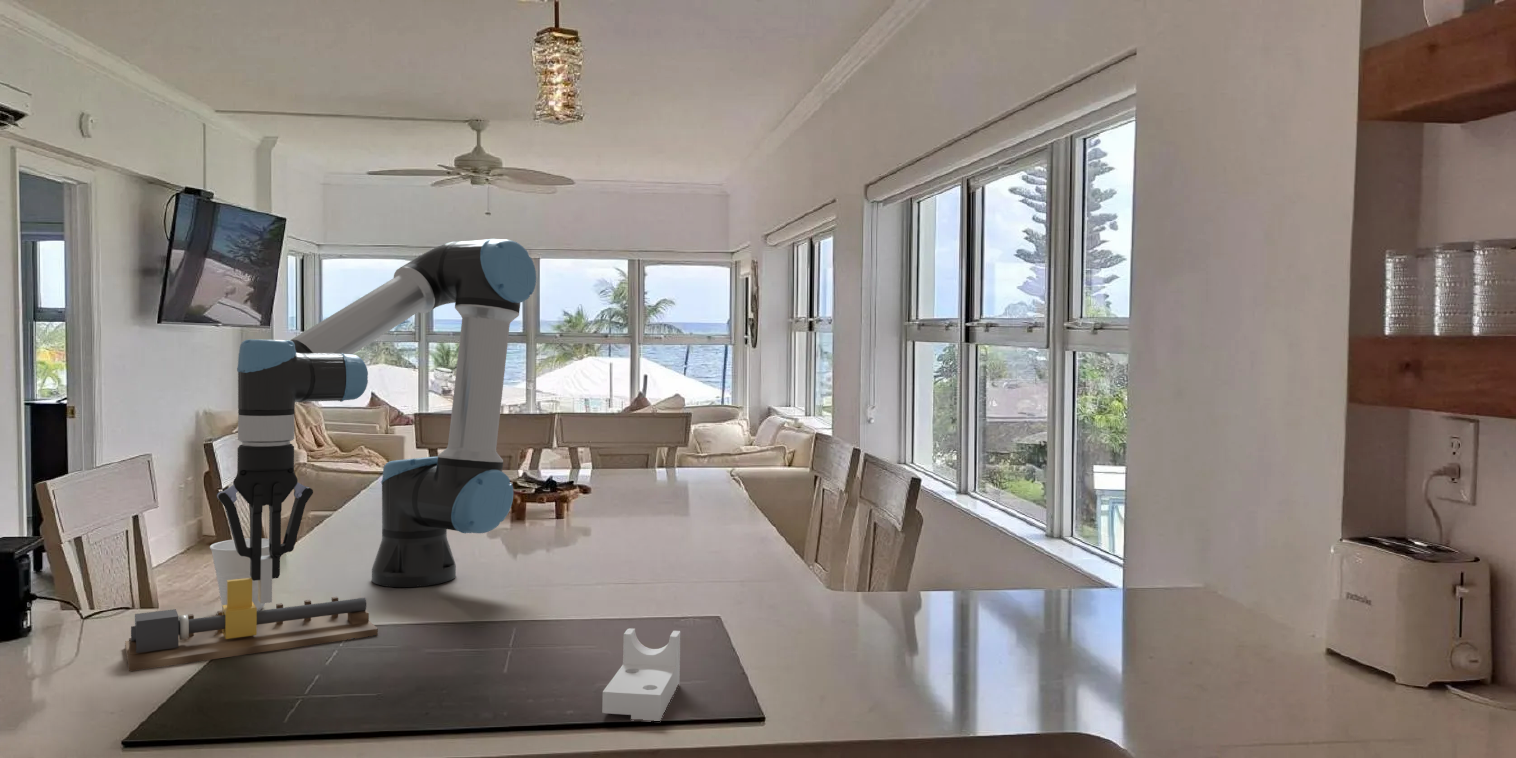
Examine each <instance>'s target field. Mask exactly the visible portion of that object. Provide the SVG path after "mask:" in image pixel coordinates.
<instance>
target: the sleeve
mask: <svg viewBox="0 0 1516 758" xmlns="http://www.w3.org/2000/svg"><path fill="white" fill-rule="evenodd" d="M221 609H222V610H221V611H222V615H225V629H222V633H223V635H224V637H225V639H230V638H237V637H245V636H252V635H257V608H256V606H255V605H254V603H253V602H252V578H243V579H234V580H227V605H222V604H221Z"/></svg>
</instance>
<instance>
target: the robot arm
mask: <svg viewBox="0 0 1516 758" xmlns="http://www.w3.org/2000/svg"><path fill="white" fill-rule="evenodd" d="M536 284H537V271H536V267H535V262H534V261H533V258H532V257H531V256H530V255H529V252H528V251H527V250H526V248H525V247H524V246H522V245H521V244H520V243H518V242H517V241H516V240H515V241H514V240H511V239H502V238H501V239H500V238H493V237H492V238H489V239H478V240H476V239H475V240H455V241H449V242H447V243H443V244H441V245H438V246H436V247H434V248H432V249H430V250H428V251H426V252H424V253H423V254H421V255H419V256H418V257H416V258H414V259H412V260H411V261H409V262H407V263H405V264H403V265H401V266H400V267H399V268H397V269H396V270H395V272H394V274H393V277H392V279H390V280H388V281H386V282H384V283H383V284H381V285H379V286H378V287H377V288H375V289H373V290H372V291H370V292H368V293H367V294H364V295H363V296H362V297H360V298H358V299H356V300H355V301H353V302H352V303H350V304H348V305H346V306H345V307H343V308H341V309H340V310H338V311H337V312H335V313H333V314H331V315H330V316H328V317H326V318H325V319H323V320H321V321H320V322H318V323H316V324H315V325H313V326H312V327H310V328H308V329H306V330H305V331H303V332H302V333H299V334H297V336H295V337H293V338H292V339H288V340H287V339H261V338H259V339H255V338H254V339H253V338H251V339H245V340H243V341H242V342H241V343H240V344H239V352H238V357H237V359H238V360H237V361H238V362H237V368H236V371H237V395H238V396H237V408H238V409H237V410H238V412H237V414H238V417H237V419H238V420H237V440H238V441H239V442H240V443H242V444H240V445H239V446H238V447H237V468H236V469H237V473H236V476H235V478H233V485H231V486H229V487H228V488H226V489H224V490H220V491H218V492H217V493H216V498H217V499H218V500H219V501H220V503H221V504H222V506H223V507H224V509H225V514H226V517H227V521H228V524H229V527H230V532H231V535H232V540H234V543H235V547H236V551H237V552H238V554H239V555H240V556H245V557H249V558H250V576H251V578H252V580H253V581H255V580H258V600H259V602H260V603H265V604H269V603H273V580H274V579H279V577H280V575H281V557H282V556H283V555H284V554H286V553H291V552H292V551H294V548H295V544H296V540H297V538H298V534H299V531H300V530H299V529H300V526H301V522H302V518H303V515H304V512H305V508H306V504H307V503H308V501H309V500H310V499H311V497H312V496H313V494H314V489H312V488H311V487H309V486H306V485H303V484H302V483H300V482H298V477H297V475H296V473H295V446H294V444H293V443H291V441H294V440H295V408H296V403H302V402H339V403H342V402H344V401H351V400H352V401H353V400H357V399H358V398H360V397H362V396H363V394H364V393H365V391H366V390H367V387H368V383H369V380H368V378H369V376H368V375H369V371H368V367H367V365H366V363H365V361H364V360H363V359H362V357H360V356H359V355H357V354H355V353H357V352H359V351H360V350H362V349H363V348H365V347H366V346H368V345H370V344H371V343H372V342H374V341H376V340H378V338H380V337H382V336H383V335H385V334H386V333H387V332H389V331H391V330H393V329H394V328H395V327H397V326H399V325H401V324H402V323H404V322H405V321H407V320H408V319H410V318H412V317H413V316H415V315H417V314H418V313H419V314H427V313H429V312H431V311H433V310H434V309H436V308H437V307H440V306H443V305H448V304H454V309H455V310H456V311H457V312H458V314H459V315H460V317H461V318H462V319H461V326H460V336H459V342H458V343H459V344H458V353H457V361H456V371H455V380H454V388H453V397H452V406H451V415H450V424H449V433H448V434H449V435H448V442H447V446H446V448H445V449H444V450H443V451H442V452H440V453H439V454H438V455H437V456H436V455H435V456H428V457H416V458H415V457H414V458H407V459H406V458H404V459H395V460H391V461H388V462H386V463H385V464H384V466H383V468H382V469H383V470H382V479H381V482H380V483H381V516H382V517H381V528H382V529H381V542H380V544H379V547H378V549H377V553H376V556H375V559H374V562H373V565H372V567H371V582H372V583H373V584H375V585H378V586H382V587H392V588H394V587H395V588H412V587H413V588H416V587H417V588H418V587H427V586H432V585H438V584H443V583H446V582H449V581H451V580H452V581H453V579H454V578H456V577H457V574H456V573H457V571H456V570H457V569H456V568H457V564H456V561H455V559H454V556H453V552H452V549H451V545H450V543H449V540H448V536H447V535H448V534H447V533H448V532H447V531H448V530H449V531H456V532H458V533H461V534H485V533H489V532H491V531H493V530H494V529H496V528H498V527H499V525H500V523H502V522H503V521H504V520H505V519H506V517H507V516H508V514H509V512H510V510H511V507H512V506H513V500H514V486H513V483H511V479H510V477H509V475H507V474H506V473H505V472H504V471H503V470H504V469H503V468H504V459H503V458H502V457H501V456H500V454H499V453H498V451H497V448H498V447H497V444H498V438H499V437H498V435H499V427H500V417H501V410H502V409H501V408H502V407H501V406H502V399H503V398H502V397H503V391H504V390H503V389H504V381H505V371H506V362H507V353H508V343H509V334H510V324H511V323H512V322H513V321H514V320H516V319H517V318H518V317H519V316H520V309H521V303H524V302H525V301H527V300H528V299H530V295H533V294H534V291H535V289H536ZM293 490H294V492H293ZM291 492H293V496H294V497H295V498H294V501H293V503H292V508H291V510H290V514H289V515H290V516H289V519H288V522H287V526H286V530H285V533H284V536H283V542H281V541H282V540H281V539H282V534H281V533H282V505H283V504H282V503H283V502H285V500H286V499H287V498H288V497H289V495H290V494H291ZM237 493H239V494H240V496H241V497H242V498H243V499H244V501H245V502H247V504H248V505H249V512H250V513H249V514H250V515H249V538H250V548H249V547H247V546H246V542H245V539H246V538H245V535H244V531H243V529H242V528H243V527H242V524H241V521H240V518H239V514H238V510H237V507H236V505H235V502H236V501H237V498H238V497H237ZM264 506H268V511H269V515H268V516H269V518H268V519H269V520H268V523H269V524H268V525H269V526H268V529H269V530H268V539H269V553H270V556H269V555H268V556H261V549H262V536H263V533H262V532H263V528H262V527H263V526H262V525H263V523H262V521H263V507H264Z"/></svg>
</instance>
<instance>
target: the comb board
mask: <svg viewBox="0 0 1516 758" xmlns="http://www.w3.org/2000/svg"><path fill="white" fill-rule="evenodd" d="M334 601H339V597H338V596H332V597H331V602H334ZM310 604H312V600H311V599H307V600H304V603H303V605H310ZM275 605H276V608H275V609H277V608H284V604H283V603H282V602H280V603H276V604H275ZM369 614H370V613H369V611H368V610H367V609H366V610H365V611H359V612H351V613H343V614H336V615H328V616H320V617H313V618H305V619H297V620H290V621H282V622H274V623H267V624H259V625H257V635H252V636H245V637H237V638H230V639H225V637H224V635H223V633H222V629H221V630H213V631H205V632H198V633H190V634H189V637H188V639H183V640H180V639H179V635H178V647H177V648H170V649H163V650H155V651H148V652H141V653H136V641H131V637H130V638H128V640H125V642H124V649H125V654H126V662H127V667H128V672H134V671H142V670H147V669H148V670H149V669H155V668H162V667H168V666H169V667H170V666H176V665H181V664H183V665H184V664H189V663H190V664H191V663H197V662H202V661H203V662H204V661H211V660H217V659H222V658H230V657H238V656H244V655H250V654H257V653H265V652H273V651H279V650H286V649H291V648H299V647H307V646H313V645H319V644H320V645H321V644H327V643H333V642H340V641H347V639H348V640H352V639H351V638H355V639H362V638H367V637H368V636H369V637H374V636H373V635H376V636H379V633H378V631H379V630H378V627H377V626H376V625H374V623H372V622H371V620H370V619H369V618H370V617H369ZM187 615H188V619H195V618H194V617H195V615H194V614H193V613H189V614H187ZM220 615H222V610H217V616H220ZM369 637H368V638H369Z"/></svg>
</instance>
